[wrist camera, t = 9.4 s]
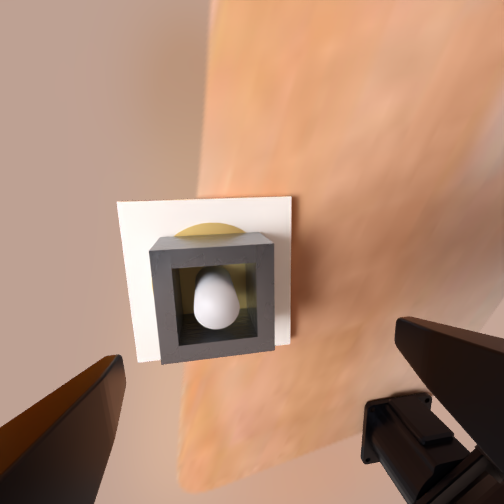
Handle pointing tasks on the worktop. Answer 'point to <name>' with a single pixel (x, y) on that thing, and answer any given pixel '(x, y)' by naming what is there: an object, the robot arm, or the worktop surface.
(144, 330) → the post base
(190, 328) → the grey hollow square box
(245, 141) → the worktop surface
